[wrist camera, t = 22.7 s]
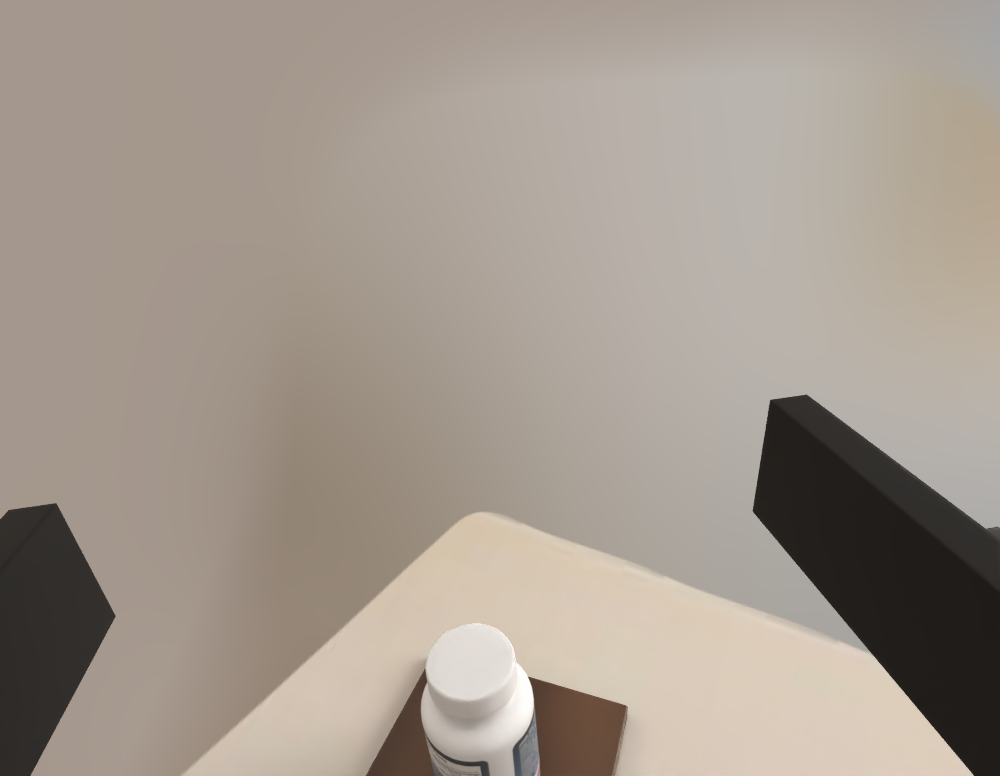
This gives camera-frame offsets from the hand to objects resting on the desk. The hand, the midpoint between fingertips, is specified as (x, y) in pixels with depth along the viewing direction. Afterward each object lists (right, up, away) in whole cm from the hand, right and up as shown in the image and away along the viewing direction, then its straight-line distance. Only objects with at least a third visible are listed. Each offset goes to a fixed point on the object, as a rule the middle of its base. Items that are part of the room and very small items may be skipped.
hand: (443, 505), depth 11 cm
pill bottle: (+1, -18, +19) cm, 26 cm away
